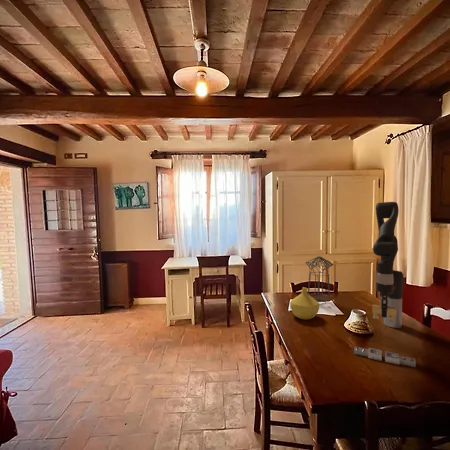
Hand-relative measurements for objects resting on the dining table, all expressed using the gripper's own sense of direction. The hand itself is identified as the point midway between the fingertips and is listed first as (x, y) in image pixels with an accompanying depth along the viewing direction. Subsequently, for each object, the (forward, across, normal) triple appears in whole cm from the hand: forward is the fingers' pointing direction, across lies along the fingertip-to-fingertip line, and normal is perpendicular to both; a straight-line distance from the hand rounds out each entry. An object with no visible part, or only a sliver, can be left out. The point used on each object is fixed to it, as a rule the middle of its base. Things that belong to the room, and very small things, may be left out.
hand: (384, 315), depth 142 cm
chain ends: (+17, +11, 0) cm, 20 cm away
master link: (+2, 0, 0) cm, 2 cm away
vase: (+17, -24, -45) cm, 54 cm away
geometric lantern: (+17, -57, -42) cm, 73 cm away
